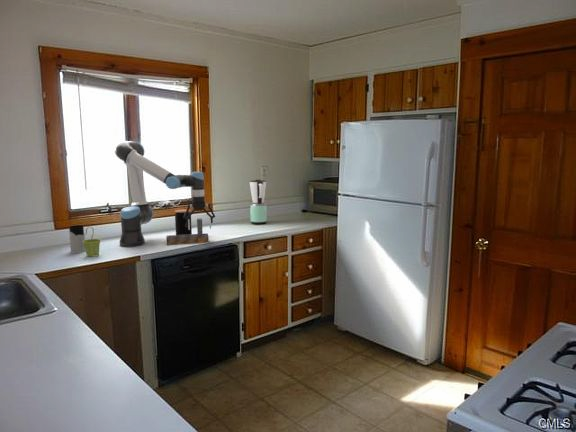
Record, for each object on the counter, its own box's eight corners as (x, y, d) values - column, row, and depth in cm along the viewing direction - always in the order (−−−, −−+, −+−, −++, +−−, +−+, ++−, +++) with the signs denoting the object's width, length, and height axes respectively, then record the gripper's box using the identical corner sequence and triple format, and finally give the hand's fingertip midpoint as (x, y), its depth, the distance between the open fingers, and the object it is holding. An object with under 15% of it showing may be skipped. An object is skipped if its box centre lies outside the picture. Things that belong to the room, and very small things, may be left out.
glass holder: (67, 251, 258) (65, 226, 256) (91, 247, 269) (89, 223, 266) (73, 253, 252) (71, 228, 250) (98, 249, 263) (96, 225, 261)
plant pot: (94, 258, 242) (93, 242, 241) (80, 257, 245) (78, 241, 244) (105, 254, 251) (104, 239, 250) (91, 253, 254) (90, 238, 252)
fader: (197, 237, 280) (197, 219, 278) (197, 235, 285) (196, 218, 283) (202, 237, 281) (202, 219, 279) (202, 235, 286) (201, 218, 284)
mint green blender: (247, 222, 356) (246, 179, 350) (263, 221, 360) (262, 178, 355) (254, 226, 338) (253, 180, 333) (270, 225, 343) (270, 180, 337)
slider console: (166, 245, 274) (166, 238, 273) (166, 242, 283) (166, 235, 282) (208, 242, 280) (208, 235, 279) (207, 239, 289) (207, 233, 288)
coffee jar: (187, 238, 294) (186, 211, 292) (173, 237, 297) (171, 211, 294) (194, 235, 305) (193, 209, 302) (180, 234, 307) (178, 209, 304)
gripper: (178, 197, 272) (180, 231, 276) (218, 196, 278) (219, 228, 282) (178, 196, 280) (179, 228, 283) (217, 194, 286) (218, 226, 289)
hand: (199, 229), depth 282 cm, fingers open, 13 cm apart
